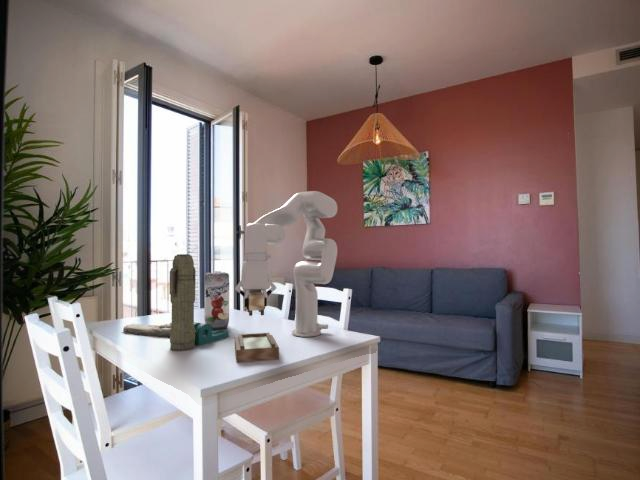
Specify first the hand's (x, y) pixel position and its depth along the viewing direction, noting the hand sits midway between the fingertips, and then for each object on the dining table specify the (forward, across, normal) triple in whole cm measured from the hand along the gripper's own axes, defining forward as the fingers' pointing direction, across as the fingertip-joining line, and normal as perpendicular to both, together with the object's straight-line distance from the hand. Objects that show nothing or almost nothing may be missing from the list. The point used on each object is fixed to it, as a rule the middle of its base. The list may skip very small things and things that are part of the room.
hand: (255, 308), depth 133 cm
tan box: (+2, 0, 0) cm, 2 cm away
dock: (+16, 0, 0) cm, 16 cm away
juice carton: (+16, +14, -45) cm, 50 cm away
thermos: (+16, +26, -14) cm, 34 cm away
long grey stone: (+17, +38, -40) cm, 58 cm away
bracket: (+16, +16, -24) cm, 33 cm away
